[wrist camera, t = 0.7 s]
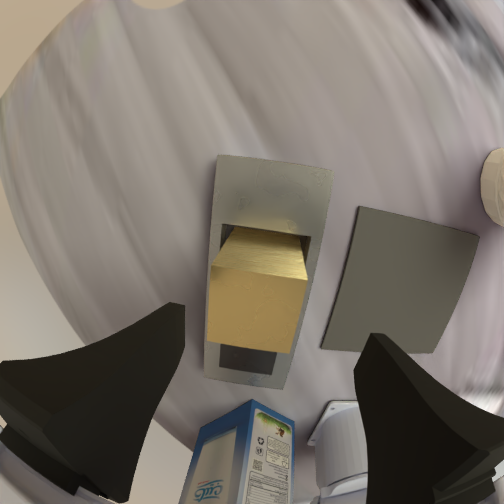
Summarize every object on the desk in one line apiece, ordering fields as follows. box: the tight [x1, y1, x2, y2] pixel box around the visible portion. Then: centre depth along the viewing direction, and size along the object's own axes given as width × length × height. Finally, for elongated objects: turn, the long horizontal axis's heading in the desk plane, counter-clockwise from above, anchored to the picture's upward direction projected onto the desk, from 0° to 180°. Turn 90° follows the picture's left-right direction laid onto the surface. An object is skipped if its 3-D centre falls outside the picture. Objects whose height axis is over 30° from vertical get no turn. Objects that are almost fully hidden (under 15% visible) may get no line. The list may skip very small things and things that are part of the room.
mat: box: [321, 206, 480, 353], centre depth 19 cm, size 12×12×1 cm
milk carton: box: [179, 399, 294, 504], centre depth 17 cm, size 10×6×20 cm, turn 139°
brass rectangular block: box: [207, 226, 308, 354], centre depth 16 cm, size 4×4×7 cm
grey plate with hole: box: [204, 155, 334, 390], centre depth 19 cm, size 18×7×2 cm, turn 173°
